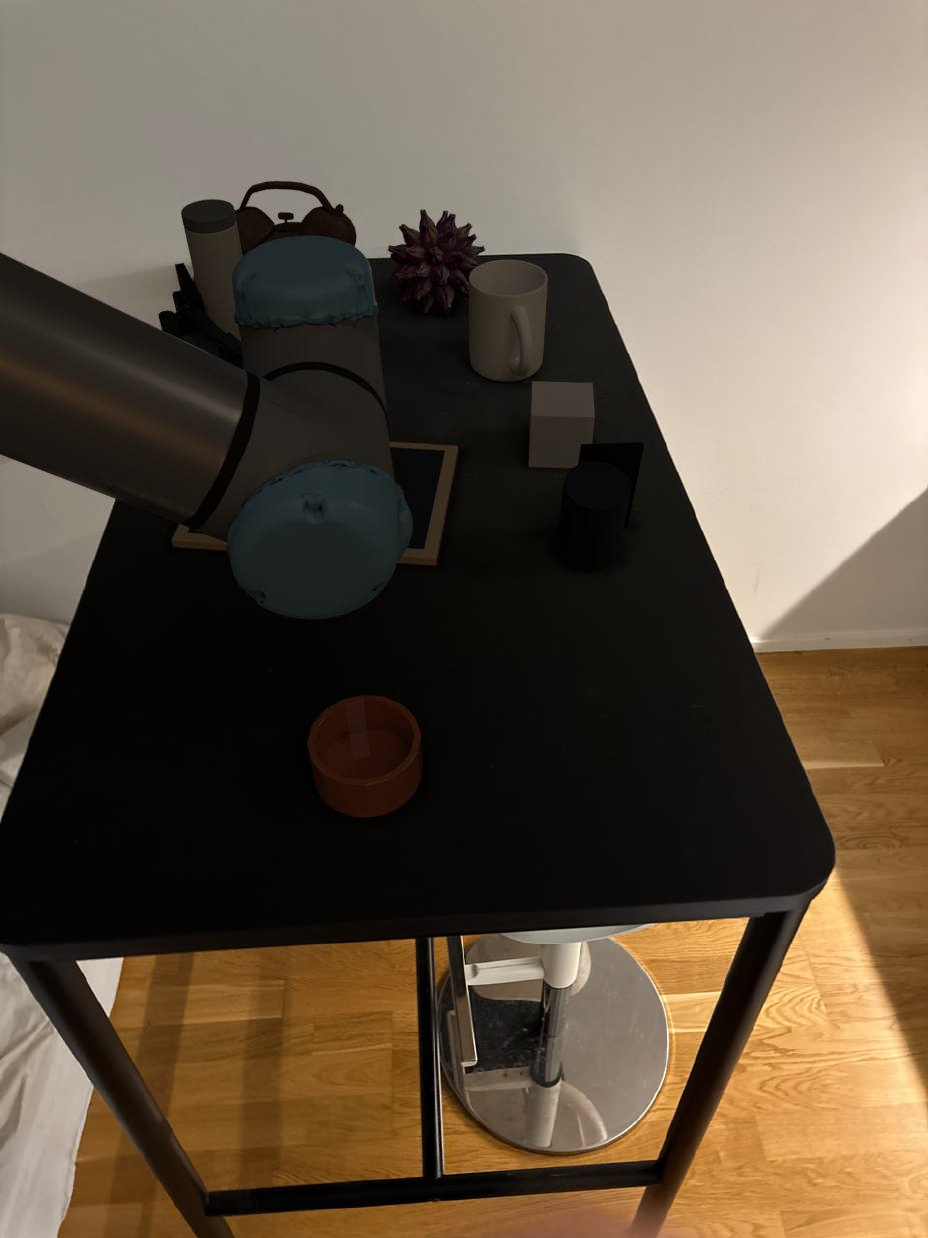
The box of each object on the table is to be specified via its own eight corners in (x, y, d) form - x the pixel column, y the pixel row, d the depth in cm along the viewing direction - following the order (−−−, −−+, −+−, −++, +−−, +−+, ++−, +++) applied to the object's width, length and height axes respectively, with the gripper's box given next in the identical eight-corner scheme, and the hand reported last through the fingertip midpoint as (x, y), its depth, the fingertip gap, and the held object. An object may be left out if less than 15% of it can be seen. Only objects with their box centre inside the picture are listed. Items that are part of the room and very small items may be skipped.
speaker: (567, 510, 92) (579, 424, 83) (628, 525, 90) (646, 439, 82) (546, 568, 87) (556, 483, 79) (610, 584, 86) (627, 500, 78)
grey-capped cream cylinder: (218, 422, 86) (173, 219, 73) (231, 397, 89) (190, 197, 76) (263, 425, 86) (225, 221, 73) (274, 399, 89) (240, 199, 76)
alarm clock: (376, 347, 113) (362, 169, 99) (365, 381, 108) (349, 198, 94) (252, 342, 114) (221, 164, 100) (236, 375, 109) (200, 193, 95)
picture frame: (173, 547, 89) (170, 539, 88) (225, 438, 100) (224, 430, 100) (436, 566, 87) (436, 557, 86) (458, 452, 99) (458, 444, 98)
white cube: (528, 467, 97) (530, 415, 93) (529, 432, 101) (531, 381, 97) (589, 468, 96) (594, 416, 92) (588, 433, 101) (593, 382, 96)
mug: (562, 396, 106) (568, 307, 98) (487, 406, 104) (488, 317, 97) (531, 341, 114) (535, 255, 106) (461, 350, 112) (461, 263, 105)
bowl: (303, 812, 69) (296, 779, 66) (326, 725, 74) (321, 691, 71) (413, 823, 68) (411, 789, 65) (429, 734, 74) (427, 699, 71)
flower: (396, 299, 124) (487, 273, 124) (404, 343, 116) (502, 316, 115) (370, 209, 116) (467, 182, 116) (377, 250, 108) (482, 220, 107)
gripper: (177, 489, 69) (119, 334, 84) (405, 430, 73) (311, 294, 88) (152, 396, 63) (95, 249, 78) (399, 340, 68) (300, 211, 83)
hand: (210, 273), depth 83 cm, fingers closed on grey-capped cream cylinder, 4 cm apart
